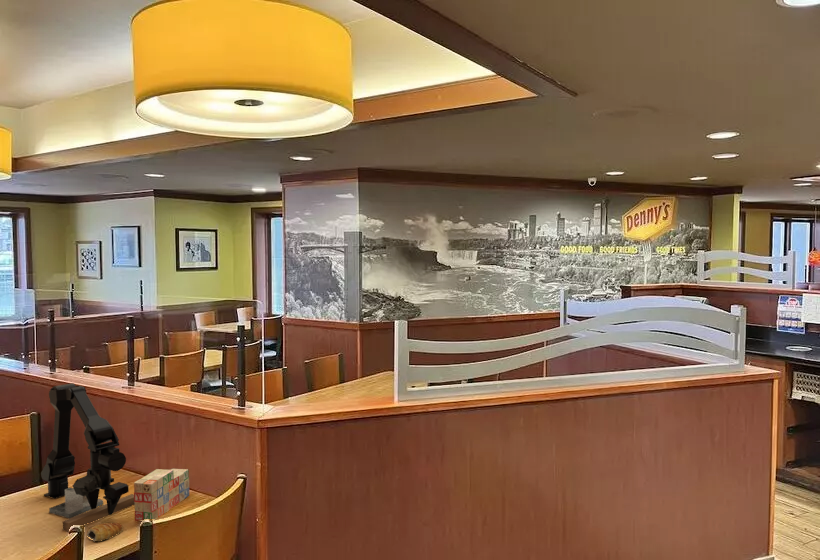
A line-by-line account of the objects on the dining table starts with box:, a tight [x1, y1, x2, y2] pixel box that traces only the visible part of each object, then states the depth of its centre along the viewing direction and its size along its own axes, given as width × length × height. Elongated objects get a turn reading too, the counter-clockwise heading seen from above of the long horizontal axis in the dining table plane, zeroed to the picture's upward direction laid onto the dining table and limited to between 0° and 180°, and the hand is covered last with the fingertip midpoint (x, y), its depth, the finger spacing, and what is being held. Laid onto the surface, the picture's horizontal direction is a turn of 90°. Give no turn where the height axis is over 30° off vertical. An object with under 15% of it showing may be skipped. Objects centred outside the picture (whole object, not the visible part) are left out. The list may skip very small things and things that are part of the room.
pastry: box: [86, 522, 124, 542], centre depth 184 cm, size 9×7×4 cm
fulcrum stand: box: [48, 487, 104, 519], centre depth 203 cm, size 10×12×6 cm
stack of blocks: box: [133, 468, 190, 521], centre depth 204 cm, size 21×6×12 cm, turn 168°
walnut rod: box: [62, 493, 135, 533], centre depth 198 cm, size 3×24×3 cm, turn 151°
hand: (102, 512), depth 198 cm, fingers open, 8 cm apart
